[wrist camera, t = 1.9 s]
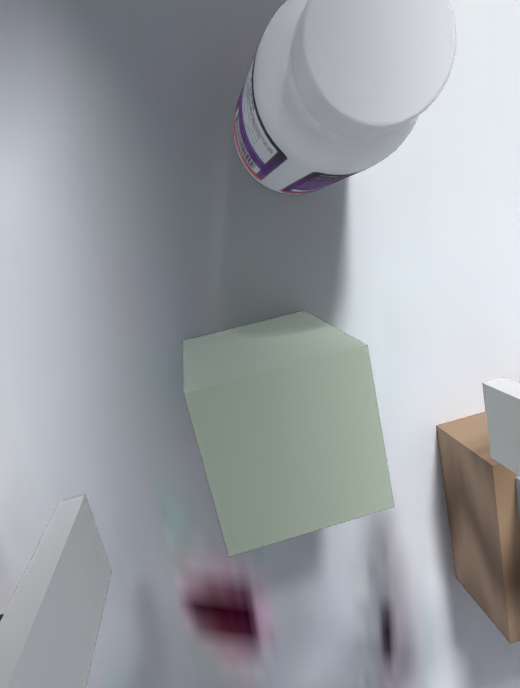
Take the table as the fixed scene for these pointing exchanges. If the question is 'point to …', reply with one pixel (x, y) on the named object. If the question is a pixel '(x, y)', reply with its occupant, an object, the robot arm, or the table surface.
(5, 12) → the table surface
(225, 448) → the green block
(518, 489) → the tower top
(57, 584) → the robot arm
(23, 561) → the table surface
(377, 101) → the pill bottle
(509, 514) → the tower base
